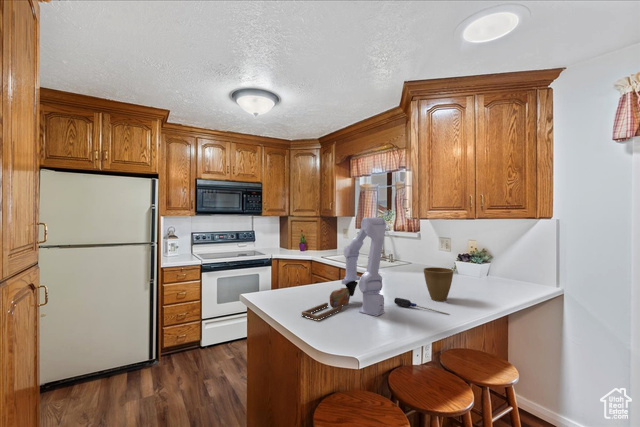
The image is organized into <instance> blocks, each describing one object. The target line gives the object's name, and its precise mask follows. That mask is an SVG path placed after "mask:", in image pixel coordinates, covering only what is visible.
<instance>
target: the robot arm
mask: <svg viewBox="0 0 640 427" xmlns="http://www.w3.org/2000/svg"><path fill="white" fill-rule="evenodd" d="M386 229H387V222H386V220H385V218H384V217H382V216H379V217H377V216H376V217H368V216H367V217H366V216H365V217H363V218H362V220H361V222H360V229H359V231H358V234H357V236H355V237H353V238H352V239H351V241H350V243H349V244H348V245H347V246H345V247H344V249H343V256H344V258H345V276H343V279H342V280H341V285H345V288H347V289H348V290H349V292H350V297H354V295H355V290H356V288H357V285H358V288H359V290H360V292H361V293H362V308H361V309H360V310H359V311H358V312H359V313H363V314H365V315H366V314H367V315H370V316H375V317H378V316H380V315H381V314H383V313H385V296H384V295H383V294H380V293H381V291H382V290H383V277H382V275H381V274H380V273H379V269H380V264H381V260H382V259H381V258H382V252H383V247H384V246H383V245H384V240H385V234H386ZM366 237H368V238H370V240H371V241H370V247H369V253H368V258H367V260H368V261H367V266H366V271H365V272H364V273H363V274H362V275H361V276H360V275H357V273H358V267H357V266H358V265H357V264H358V260H359V256H360V252H359V251H360V250H361V249H362V248H363V245H364V240H365V239H366Z"/></svg>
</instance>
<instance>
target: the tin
mask: <svg viewBox="0 0 640 427" xmlns="http://www.w3.org/2000/svg"><path fill="white" fill-rule="evenodd" d="M350 297H351V296H350V292H349V290H348V289H347V287H340V288H337V289H335V290H333V291H332V292H331V293H330V295H329V305H330V307H331V309H333V308H336V307H338V306H342V305H345V304H347V305H348V304H349V303H350V299H351V298H350ZM345 306H346V305H345Z"/></svg>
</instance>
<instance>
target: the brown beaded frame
mask: <svg viewBox="0 0 640 427" xmlns="http://www.w3.org/2000/svg"><path fill="white" fill-rule="evenodd" d="M327 306H328V307H329V302H324V303H322V304H319V305H316V306H313V307H311V308H308V309H306V310H303V311H301V316H302V315H303V316H307V317H310V318H313V319H317V320H318V319H321V318H323V317H326V316H328V315H330V314H332V315H334V314H333V313H335V312H337V311H339V312H341V311H342V310H343V307H342V306H338V307H336V308H331V309H329V310H326V311H324V312H321V313H319V314H314V313H315V312H314V311H316V310H319V309H322V308H324V307H327ZM328 307H327V308H328ZM324 309H325V308H324ZM322 310H323V309H322ZM340 310H341V311H340ZM319 311H320V310H319ZM311 312H314V313H312V314H311ZM337 313H338V312H337ZM335 314H336V313H335ZM330 316H331V315H330ZM328 317H329V316H328ZM326 318H327V317H326ZM323 319H324V318H323ZM321 320H322V319H321Z"/></svg>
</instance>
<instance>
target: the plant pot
mask: <svg viewBox="0 0 640 427" xmlns="http://www.w3.org/2000/svg"><path fill="white" fill-rule="evenodd" d="M423 275H424V280H425V285H426V289H427V291H428V294H429V297H430V299H431V300H432V301H435V302H445V301H447V299H448V296H449V293H450V291H451V286H452V282H453V277H454V270H453V269H452V268H446V267H435V266H434V267H425V268H423Z"/></svg>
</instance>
